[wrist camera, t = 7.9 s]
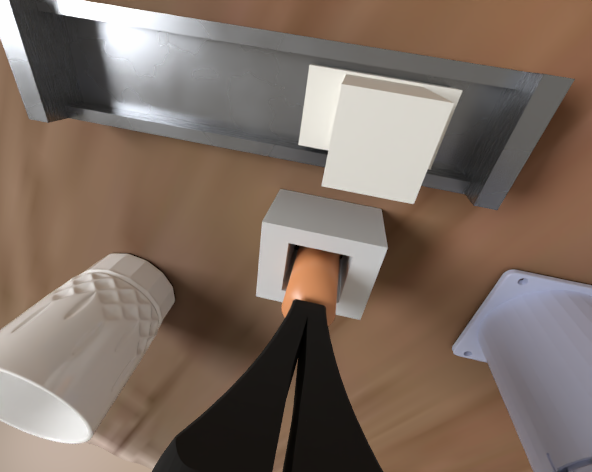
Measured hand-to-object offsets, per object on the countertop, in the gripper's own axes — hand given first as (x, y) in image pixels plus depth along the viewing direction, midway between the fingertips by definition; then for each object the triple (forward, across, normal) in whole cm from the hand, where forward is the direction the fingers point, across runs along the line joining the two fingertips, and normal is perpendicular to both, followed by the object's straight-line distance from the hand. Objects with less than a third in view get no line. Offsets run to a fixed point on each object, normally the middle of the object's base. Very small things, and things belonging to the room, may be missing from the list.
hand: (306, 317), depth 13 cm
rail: (+7, +4, -8) cm, 11 cm away
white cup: (+7, +14, +9) cm, 18 cm away
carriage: (+6, -1, -8) cm, 10 cm away
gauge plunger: (+5, 0, 0) cm, 5 cm away
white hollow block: (+7, 0, 0) cm, 7 cm away
